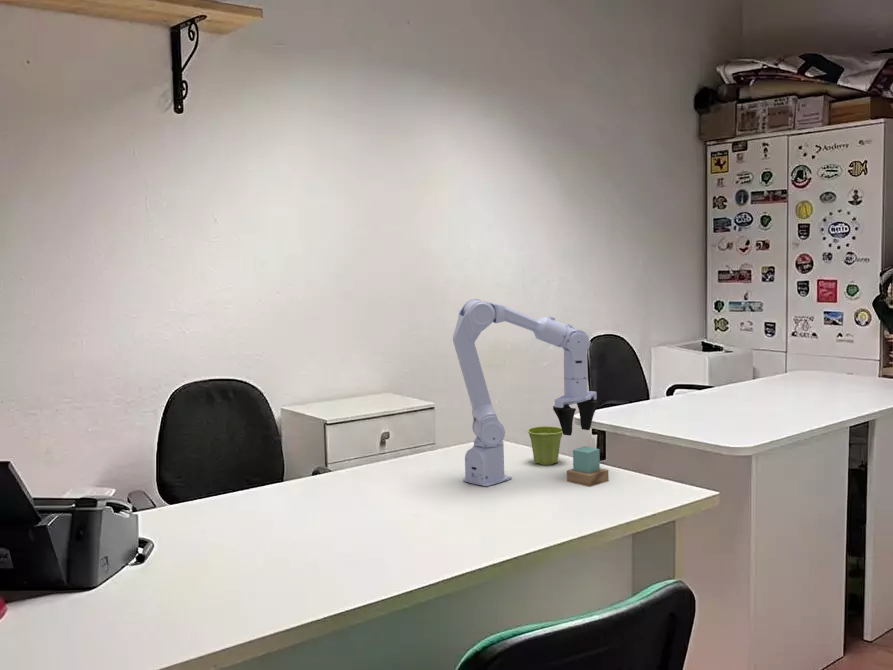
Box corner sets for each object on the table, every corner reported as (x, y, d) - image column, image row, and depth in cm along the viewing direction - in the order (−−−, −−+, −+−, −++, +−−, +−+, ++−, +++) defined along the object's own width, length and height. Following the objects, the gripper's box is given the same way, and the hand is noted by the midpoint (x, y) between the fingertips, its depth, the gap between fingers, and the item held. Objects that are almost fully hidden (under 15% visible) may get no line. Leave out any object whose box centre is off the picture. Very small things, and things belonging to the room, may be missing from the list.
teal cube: (588, 473, 212) (588, 452, 212) (573, 470, 215) (572, 450, 215) (599, 469, 215) (599, 449, 215) (584, 466, 219) (584, 446, 218)
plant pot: (566, 466, 230) (565, 433, 229) (529, 467, 230) (528, 434, 229) (562, 457, 239) (561, 425, 238) (526, 458, 239) (526, 426, 238)
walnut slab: (589, 488, 211) (589, 475, 210) (567, 482, 216) (566, 470, 215) (608, 482, 215) (608, 470, 215) (585, 477, 220) (585, 465, 220)
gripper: (570, 383, 212) (571, 439, 214) (606, 375, 222) (607, 429, 224) (547, 380, 217) (548, 435, 219) (583, 373, 227) (584, 425, 229)
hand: (576, 432), depth 221 cm, fingers open, 7 cm apart
